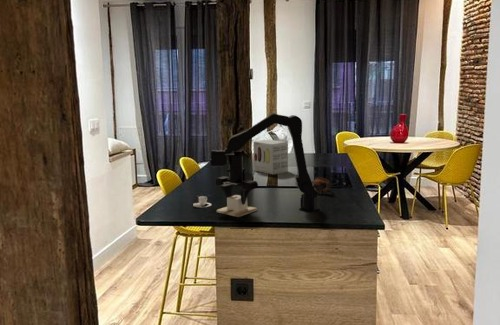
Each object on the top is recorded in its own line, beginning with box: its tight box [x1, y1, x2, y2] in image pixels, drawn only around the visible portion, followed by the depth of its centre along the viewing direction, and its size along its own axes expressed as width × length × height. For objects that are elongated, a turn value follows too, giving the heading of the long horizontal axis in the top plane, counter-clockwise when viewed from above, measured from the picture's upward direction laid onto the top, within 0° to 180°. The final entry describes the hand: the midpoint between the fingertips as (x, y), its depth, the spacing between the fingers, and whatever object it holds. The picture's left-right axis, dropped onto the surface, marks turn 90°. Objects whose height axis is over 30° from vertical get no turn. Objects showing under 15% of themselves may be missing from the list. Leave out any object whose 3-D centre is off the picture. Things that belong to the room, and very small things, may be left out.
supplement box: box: [253, 139, 289, 175], centre depth 278 cm, size 17×13×18 cm
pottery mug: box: [312, 176, 331, 195], centre depth 224 cm, size 12×10×8 cm
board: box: [216, 205, 258, 218], centre depth 194 cm, size 12×12×4 cm
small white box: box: [226, 194, 248, 211], centre depth 194 cm, size 6×6×5 cm
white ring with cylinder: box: [192, 195, 212, 208], centre depth 205 cm, size 9×8×4 cm
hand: (236, 203), depth 194 cm, fingers open, 7 cm apart
